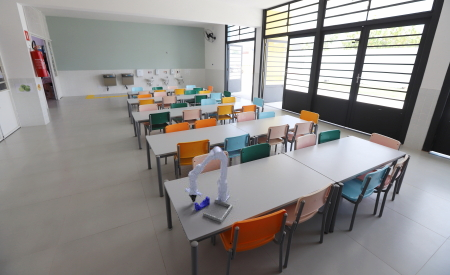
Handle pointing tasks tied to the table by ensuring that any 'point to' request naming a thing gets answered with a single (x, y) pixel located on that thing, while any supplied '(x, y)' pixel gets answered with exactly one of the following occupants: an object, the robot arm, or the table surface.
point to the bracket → (223, 215)
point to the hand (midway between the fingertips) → (193, 201)
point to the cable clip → (202, 204)
